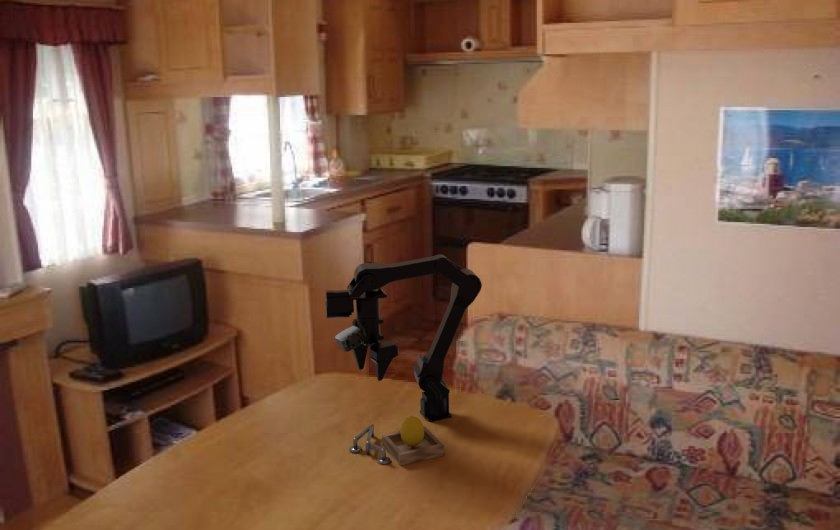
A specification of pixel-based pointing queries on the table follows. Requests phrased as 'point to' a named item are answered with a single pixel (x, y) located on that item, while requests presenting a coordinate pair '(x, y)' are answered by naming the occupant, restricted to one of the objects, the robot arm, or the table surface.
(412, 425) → the lemon
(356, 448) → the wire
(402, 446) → the tray
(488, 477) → the table surface
